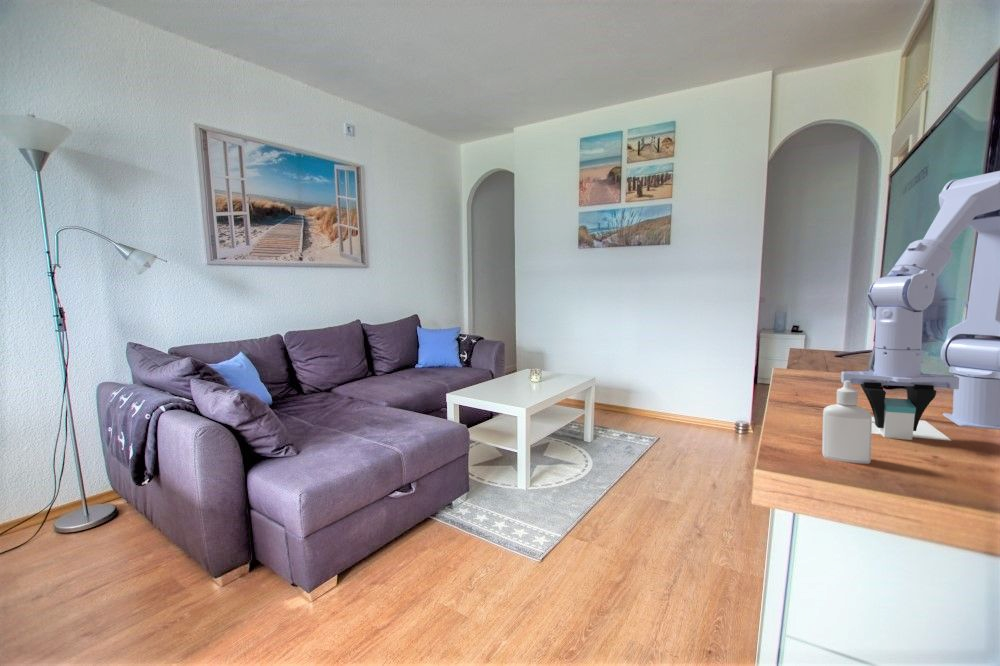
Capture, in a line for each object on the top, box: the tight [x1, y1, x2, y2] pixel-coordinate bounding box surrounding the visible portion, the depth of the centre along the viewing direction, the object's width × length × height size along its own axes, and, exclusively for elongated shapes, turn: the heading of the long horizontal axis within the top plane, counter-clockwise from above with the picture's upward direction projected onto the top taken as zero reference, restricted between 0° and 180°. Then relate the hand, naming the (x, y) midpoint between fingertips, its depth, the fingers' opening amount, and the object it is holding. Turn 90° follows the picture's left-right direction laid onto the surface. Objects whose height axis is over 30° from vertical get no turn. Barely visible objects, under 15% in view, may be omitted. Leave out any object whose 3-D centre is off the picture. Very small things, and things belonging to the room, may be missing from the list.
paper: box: [871, 416, 953, 441], centre depth 78 cm, size 12×12×1 cm
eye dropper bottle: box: [821, 381, 873, 465], centre depth 65 cm, size 4×6×12 cm
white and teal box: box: [879, 397, 916, 441], centre depth 73 cm, size 4×4×6 cm
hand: (895, 427), depth 74 cm, fingers closed on white and teal box, 3 cm apart
